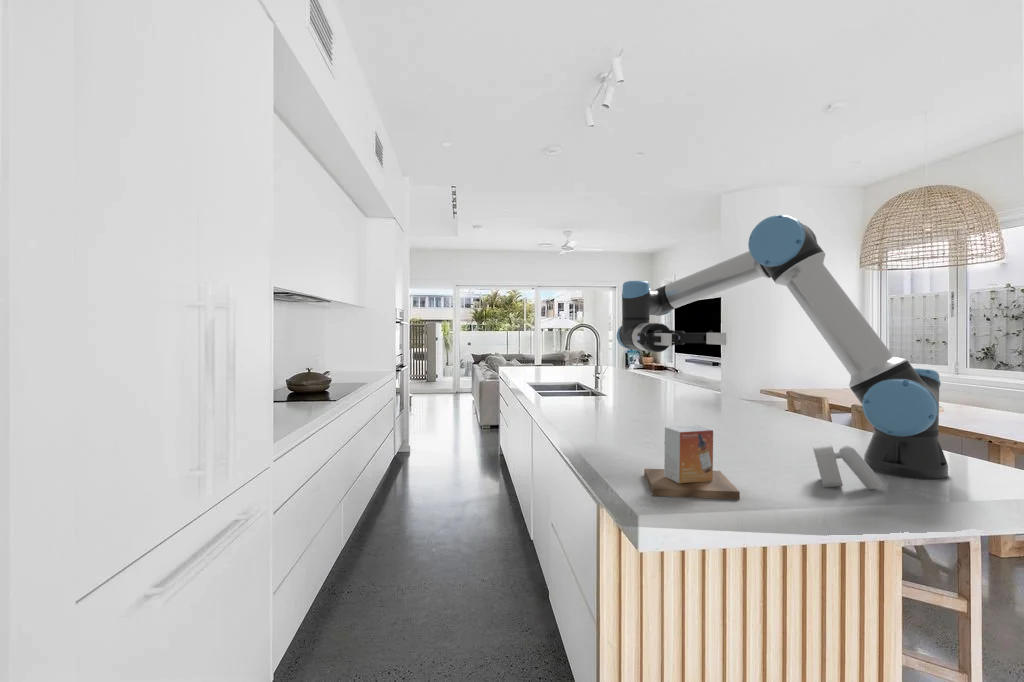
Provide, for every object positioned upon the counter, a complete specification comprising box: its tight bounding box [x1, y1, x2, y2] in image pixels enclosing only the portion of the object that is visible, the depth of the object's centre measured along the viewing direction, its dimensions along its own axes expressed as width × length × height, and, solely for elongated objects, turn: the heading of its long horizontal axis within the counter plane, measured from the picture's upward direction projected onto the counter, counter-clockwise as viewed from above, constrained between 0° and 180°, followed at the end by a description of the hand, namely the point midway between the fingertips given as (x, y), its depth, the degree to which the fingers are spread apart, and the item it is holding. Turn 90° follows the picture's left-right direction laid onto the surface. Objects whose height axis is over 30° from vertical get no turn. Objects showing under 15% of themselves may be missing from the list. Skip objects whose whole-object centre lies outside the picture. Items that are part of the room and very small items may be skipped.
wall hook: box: [811, 439, 883, 490], centre depth 105 cm, size 8×10×10 cm
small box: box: [663, 424, 714, 484], centre depth 105 cm, size 8×6×10 cm
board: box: [643, 467, 741, 500], centre depth 105 cm, size 16×14×2 cm
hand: (697, 339), depth 114 cm, fingers open, 13 cm apart
